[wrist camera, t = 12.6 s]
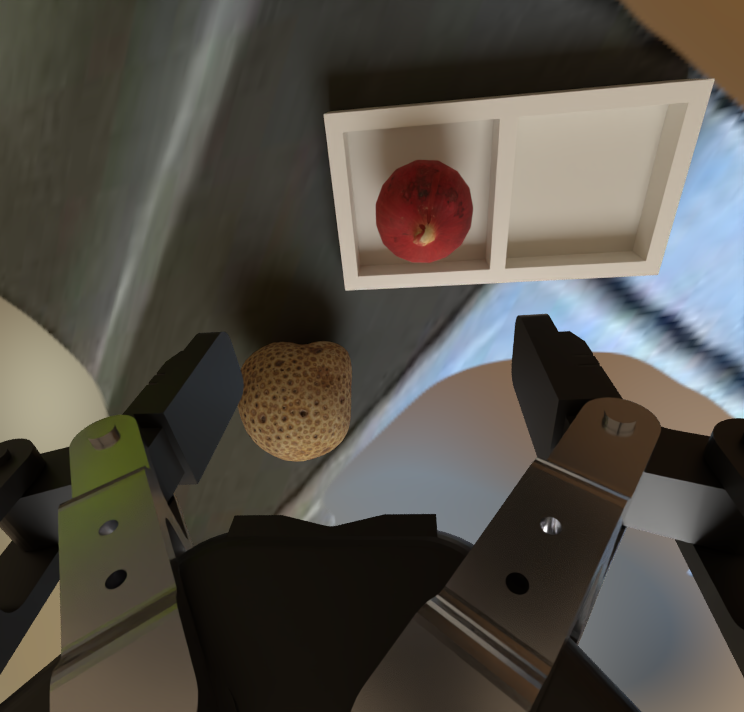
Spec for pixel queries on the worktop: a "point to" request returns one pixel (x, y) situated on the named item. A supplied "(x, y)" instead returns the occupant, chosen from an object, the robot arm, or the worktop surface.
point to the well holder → (525, 181)
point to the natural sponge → (297, 398)
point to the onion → (424, 211)
